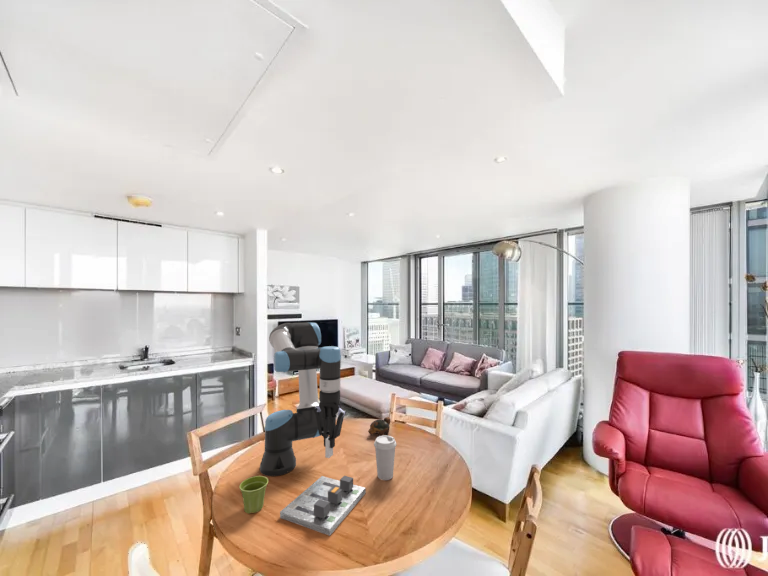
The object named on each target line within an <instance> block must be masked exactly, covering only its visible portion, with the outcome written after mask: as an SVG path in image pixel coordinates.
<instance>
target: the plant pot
mask: <svg viewBox="0 0 768 576" xmlns="http://www.w3.org/2000/svg"><path fill="white" fill-rule="evenodd" d="M268 483H269V478H268V477H266V476H265V475H264V476H263V475H256V476H255V475H254V476H251V477H249V478H246V479H244V480H242V482H241V483H239V490H240V493H241V495H242V501H243V510H244V512H245V513H246V514H248V515H249V514H256V513H258V512H260V511H261V510H262V509H263V507H264V501H265V494H266V489H267V485H268Z"/></svg>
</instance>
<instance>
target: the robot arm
mask: <svg viewBox="0 0 768 576" xmlns="http://www.w3.org/2000/svg"><path fill="white" fill-rule="evenodd" d="M268 341H269V344H270V346H271V347H272V348H274V351H275V353H274V355H273V369H274V371H275V372H277V373H288V372H295V371H298V373H297V374H298V392H299V393H298V395H299V396H298V397H299V405H298V406H297V407H296V412H293V410H291V409H282V410H278V411H274V412H273V413H270V414H269V415H268V416H267V417H266V418H265V421H264V450H263V451H264V452H263V454H262V457H261V462H260V465H259V472H260V474H261V475H262V476H263V475H264V476H265V477H266V476H267V477H278V476H279V477H280V476H283V475H285V474H288V473H290V472H292V471H293V470H294V469H295V468H296V466H297V458H296V456H295V451H294V449H293V442H296V441H301V440H306V439H307V440H308V439H314V438H317V437H321V436H322V438H323V447H325V449H324V450H325V452H324V455H325V456H324V458H326V459H327V458H328V459H330V458H331V457H332V456H333V455H334V447H335V446H336V443H335V442H336V439H337V438H338V437H340V435H341V432H342V427H343V422H344V418H345V416H346V414H347V411H346V410H343V409H342V408H341V402H340V401H341V390H340V389H341V365H342V364H341V362H342V361H341V360H342V354H341V348H340V347H339V346H334V345H331V346H330V345H329V346H322V347H319V346H320V345H321V343H322V333H321V328H320V327H319V324H318V323H317V322H309V321H308V322H307V321H306V322H284V323H282V324H278V325H277V326H276V327H274V328H273V329H272V331H271V332H270V333H269V337H268ZM317 370H319V390H318V375H317ZM318 393H319V394H318Z"/></svg>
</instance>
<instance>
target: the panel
mask: <svg viewBox="0 0 768 576" xmlns="http://www.w3.org/2000/svg"><path fill="white" fill-rule="evenodd" d="M332 487H338V488H339V489H340V479H339V480H338V479H334V478H331V477H327V476H323V475H321V476H320V477H319V478H318V479H317V480H316V481H315V482H313V483H312V484H311V485H309V487H307V488H306V489H305V490H304V491H302V492H301V494H299V495H298V496H297V497H295V498H294V500H292V501H291V502H290V503H288V504H287V505H286V506H285V507H284V508H282V509H281V510H280V511H279V518H280V519H282V520H284V521H288V522H290V523H293V524H296V525H299V526H301V527H304V528H307V529H309V530H311V531H315V532H318V533H321V534H323V535H327V536H328V537H329V536H332V534H333V533H334V532H335V530H336V529H337V528H338V527H339V526H340V525H341V523H342V522H343V521H344V520H345V519H346V518H347V516H348V515H349V514H350V513H351V511H352V510H353V509H354V508H355V507H356V505H357V504H358V503H359V502H360V501H361V499H362V498H363V497H364V496H365V495H366V493H367V492H366V489H367V488H366V487H364V486H360V485H357V484H353V488H352V489H351V490H350V491H349V492H348V491H345V490H342V500H341V501H340V502H339V503H338V504H334V503H331V502H329V514H328V515H327V516H326V517H325V518H324V519H323V518H320V517H317V516H314V504H315V503H316V502H317V501H318V500H319V499H320V500H323V501H326V502H328V491H329V490H330V489H331V488H332Z"/></svg>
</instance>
